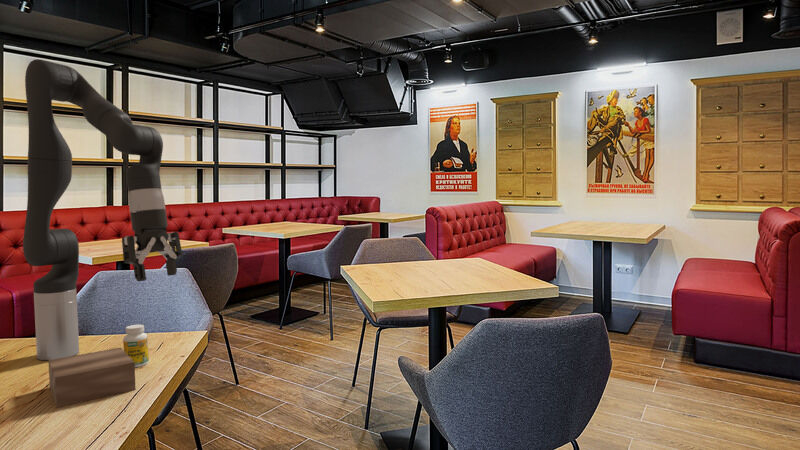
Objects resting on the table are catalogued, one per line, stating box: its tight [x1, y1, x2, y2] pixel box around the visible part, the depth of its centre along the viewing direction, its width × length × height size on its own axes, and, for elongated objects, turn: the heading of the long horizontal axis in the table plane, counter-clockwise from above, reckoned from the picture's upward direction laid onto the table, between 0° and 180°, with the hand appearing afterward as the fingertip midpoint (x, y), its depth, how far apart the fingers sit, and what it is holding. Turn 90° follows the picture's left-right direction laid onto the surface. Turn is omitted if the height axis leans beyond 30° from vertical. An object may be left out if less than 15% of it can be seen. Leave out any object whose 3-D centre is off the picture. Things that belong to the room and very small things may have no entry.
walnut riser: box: [47, 347, 137, 408], centre depth 108 cm, size 14×14×6 cm
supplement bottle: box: [122, 324, 150, 369], centre depth 123 cm, size 5×5×10 cm
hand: (157, 278), depth 118 cm, fingers open, 8 cm apart
